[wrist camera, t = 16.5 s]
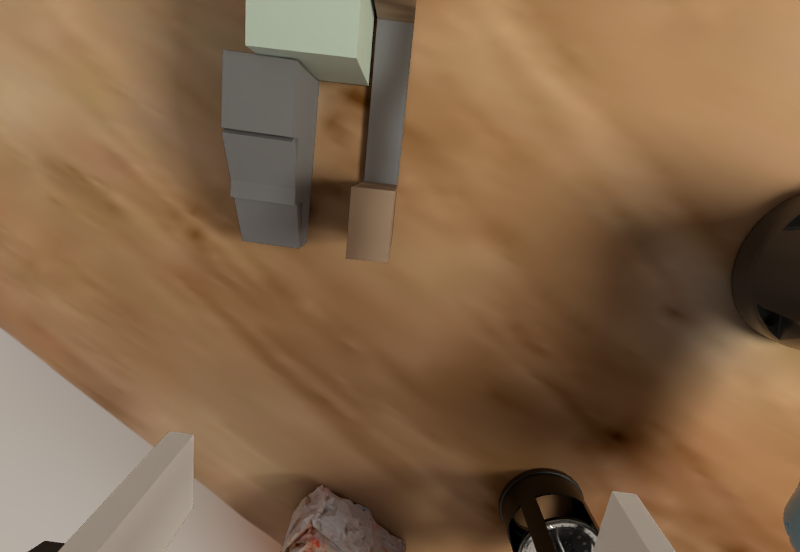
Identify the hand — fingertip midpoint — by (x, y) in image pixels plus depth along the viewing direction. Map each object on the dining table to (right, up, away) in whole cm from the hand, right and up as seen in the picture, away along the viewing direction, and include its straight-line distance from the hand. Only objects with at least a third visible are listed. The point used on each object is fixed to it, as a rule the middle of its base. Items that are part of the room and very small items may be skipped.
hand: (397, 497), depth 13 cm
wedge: (-10, +17, +25) cm, 32 cm away
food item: (-6, -21, +35) cm, 41 cm away
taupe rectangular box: (-1, +24, +22) cm, 33 cm away
